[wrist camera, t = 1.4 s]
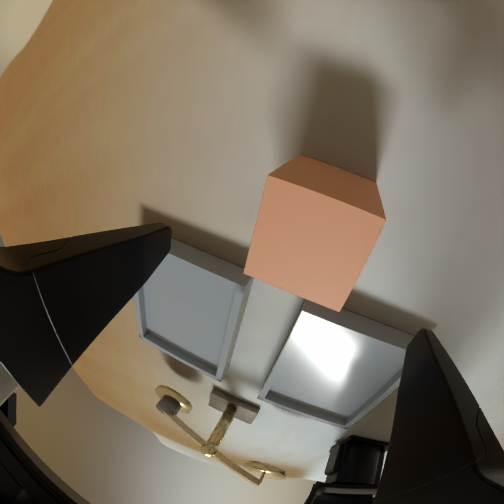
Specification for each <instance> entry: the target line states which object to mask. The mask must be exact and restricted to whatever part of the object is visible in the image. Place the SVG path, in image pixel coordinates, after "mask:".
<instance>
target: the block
mask: <svg viewBox="0 0 504 504" xmlns="http://www.w3.org/2000/svg"><path fill="white" fill-rule="evenodd" d="M385 221H386V218H385V214H384V210H383V206H382V202H381V198H380V195H379V191H378V188H377V184H376V183H375V182H373V181H371V180H368V179H366V178H363V177H361V176H358V175H356V174H353V173H351V172H348V171H345V170H343V169H340V168H337V167H335V166H332V165H329V164H326V163H324V162H321V161H318V160H315V159H312V158H309V157H306V156H303V155H299V156H298V157H296V158H294V159H293V160H291V161H289V162H288V163H286V164H284V165H283V166H281V167H280V168H278V169H276V170H275V171H273V172H272V173H270V174H268V175H267V179H266V183H265V187H264V191H263V195H262V199H261V203H260V207H259V211H258V215H257V219H256V224H255V228H254V232H253V236H252V240H251V244H250V248H249V252H248V256H247V260H246V265H245V269H244V274H246V275H248V276H251V277H253V278H256V279H258V280H261V281H263V282H265V283H268V284H270V285H273V286H275V287H278V288H280V289H282V290H285V291H287V292H290V293H292V294H295V295H297V296H300V297H302V298H305V299H307V300H310V301H312V302H315V303H317V304H320V305H322V306H325V307H327V308H330V309H332V310H335V311H338V312H340V310H341V308H342V307H343V305H344V303H345V301H346V300H347V298H348V296H349V294H350V292H351V290H352V289H353V287H354V285H355V283H356V281H357V279H358V277H359V275H360V273H361V271H362V269H363V267H364V265H365V264H366V262H367V259H368V257H369V255H370V253H371V251H372V249H373V247H374V245H375V243H376V241H377V239H378V236H379V234H380V232H381V230H382V228H383V225H384V223H385Z"/></svg>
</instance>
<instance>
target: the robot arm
mask: <svg viewBox="0 0 504 504" xmlns="http://www.w3.org/2000/svg"><path fill="white" fill-rule="evenodd" d="M171 236H172V229H171V227H170V226H168V225H166V224H163V223H155V224H148V225H141V226H135V227H128V228H122V229H115V230H109V231H103V232H97V233H91V234H85V235H79V236H74V237H71V238H70V237H68V238H63V239H57V240H51V241H45V242H38V243H31V244H23V245H16V246H9V247H0V504H90V503H89V502H88V501H86V500H85V499H84V498H83V497H81V496H80V495H79V494H78V493H77V492H75V491H74V490H73V489H72V488H71V487H69V486H68V485H67V484H66V483H65V482H64V481H63V480H62V479H61V478H60V477H58V476H57V475H56V474H55V473H54V472H53V471H52V470H51V469H50V468H49V467H48V466H47V465H46V464H45V463H44V462H43V461H42V460H41V459H40V458H39V457H38V455H37V454H36V453H35V452H34V451H33V450H32V449H31V448H30V447H29V445H28V444H27V443H26V442H25V441H24V440H23V438H22V437H21V436H20V435H19V434H18V432H17V431H16V430H15V428H14V425H15V424H16V393H15V392H14V391H15V390H16V389H17V388H18V387H19V386H20V387H21V388H22V389H23V390H24V392H25V393H26V394H27V395H28V396H29V397H30V398H31V399H32V400H33V401H34V402H35V403H36V404H37V405H38V407H40V406H41V405H42V404H43V403H44V401H45V400H46V399H47V397H48V396H49V395H50V393H51V392H52V391H53V390H54V388H55V387H56V386H57V384H58V383H59V382H60V381H61V379H62V378H63V377H64V376H65V374H66V373H67V372H68V371H69V369H70V368H71V367H72V365H73V364H74V363H75V362H76V361H77V360H78V358H79V357H80V356H81V355H82V354H83V352H84V351H85V350H86V349H87V348H88V346H89V345H90V344H91V343H92V342H93V341H94V339H95V338H96V337H97V336H98V335H99V334H100V333H101V331H102V330H103V329H104V328H105V327H106V326H107V325H108V323H109V322H110V321H111V320H112V319H113V318H114V317H115V316H116V315H117V313H118V312H119V311H120V310H121V309H122V308H123V307H124V306H125V305H126V304H127V302H128V301H129V300H130V299H131V298H132V297H133V296H134V295H135V294H136V293H137V292H138V291H139V290H140V288H141V287H142V286H143V285H144V284H145V283H146V282H147V280H148V279H149V278H150V277H151V275H152V274H153V273H154V271H155V270H156V269H157V267H158V266H159V265H160V264H161V262H162V261H163V260H164V258H165V257H166V256H167V255H168V253H169V251H170V249H171ZM386 451H388V452H387V456H386V460H385V464H384V468H383V472H382V466H383V460H384V454H385V452H386ZM329 452H330V456H329V459H328V462H327V466H326V469H325V472H324V473H325V475H327V478H326V481H325V483H323V482H318V481H317V482H316V484H313V487H312V490H311V492H310V495H309V496H308V498H307V500H306V502H305V503H304V504H504V450H503V449H502V447H501V445H500V443H499V441H498V439H497V438H496V436H495V434H494V432H493V430H492V429H491V427H490V425H489V423H488V421H487V419H486V418H485V416H484V414H483V412H482V410H481V408H479V405H478V403H477V401H476V399H475V397H474V396H473V394H472V392H471V390H470V389H469V387H468V385H467V384H466V382H465V380H464V379H463V377H462V375H461V374H460V372H459V370H458V369H457V367H456V366H455V364H454V363H453V361H452V359H451V358H450V356H449V355H448V353H447V352H446V350H445V349H444V347H443V346H442V344H441V343H440V341H439V340H438V338H437V337H436V336H435V334H434V333H433V332H432V331H431V330H428V329H425V328H422V329H420V330H419V332H418V333H417V334H416V335H415V337H414V338H413V339H412V340H411V342H410V343H409V344H408V346H407V348H406V352H405V358H404V364H403V369H402V374H401V379H400V383H399V389H398V395H397V403H396V410H395V416H394V422H393V427H392V433H391V438H390V443H389V444H387V443H382V442H377V441H373V440H368V439H364V438H360V437H356V436H351V437H349V438H347V439H346V440H344V441H343V442H341V443H340V444H338V445H336V446H335V447H333V448H331V449H330V451H329ZM381 472H382V475H381ZM380 477H381V479H380ZM373 495H375V497H372V496H373Z"/></svg>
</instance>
